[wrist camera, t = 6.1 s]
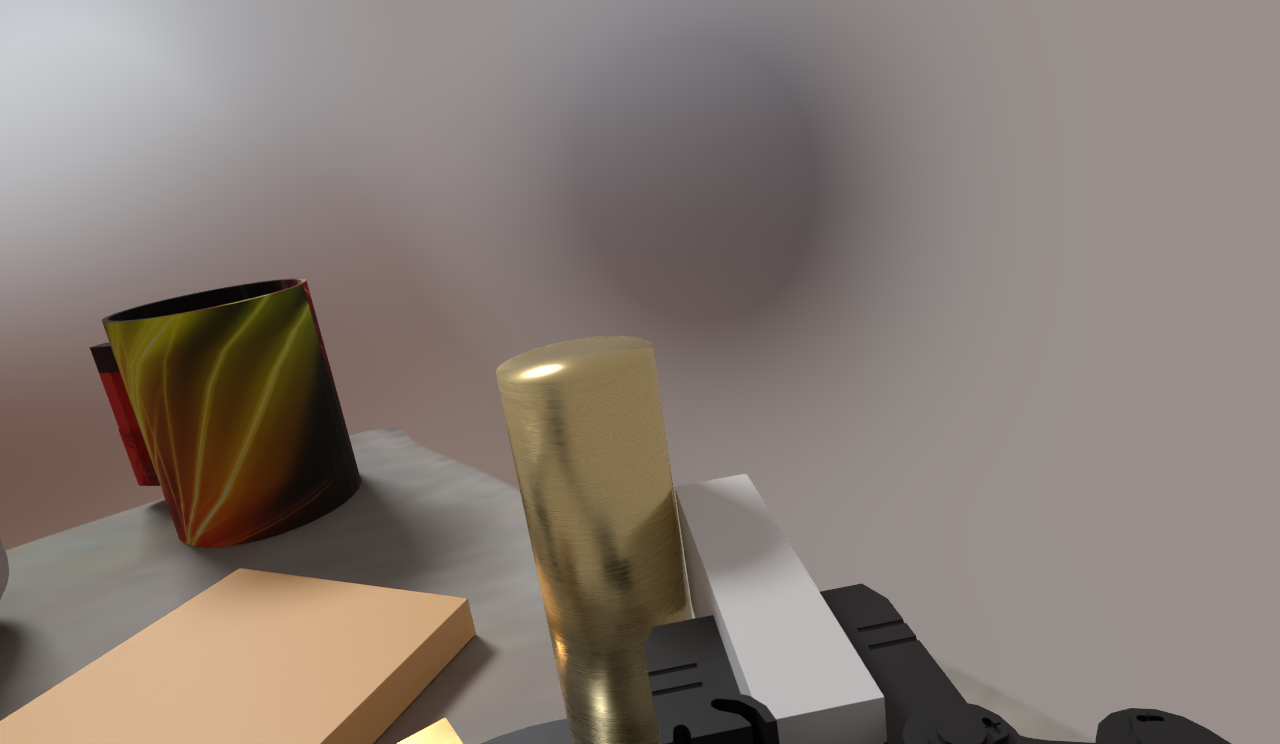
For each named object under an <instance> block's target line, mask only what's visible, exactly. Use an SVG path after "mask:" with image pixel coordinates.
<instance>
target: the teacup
mask: <svg viewBox="0 0 1280 744" xmlns="http://www.w3.org/2000/svg"><path fill="white" fill-rule="evenodd" d="M8 576H9V565H8V558H7V555H6V552H5V548H4V545H3V542H2V540H1V538H0V599H1V597H2V594H3V592H4V590H5V588H6V585H7V582H8Z"/></svg>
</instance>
